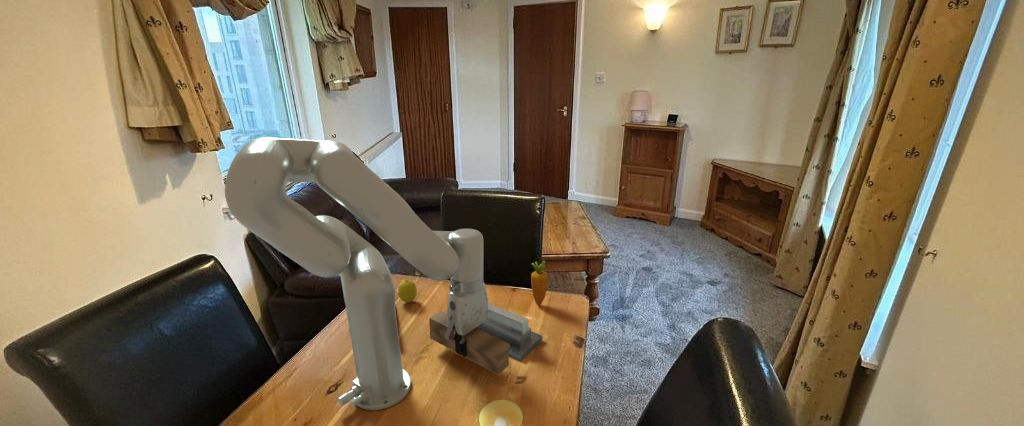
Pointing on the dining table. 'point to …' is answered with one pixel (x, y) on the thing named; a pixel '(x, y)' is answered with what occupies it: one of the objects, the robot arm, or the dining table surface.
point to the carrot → (539, 283)
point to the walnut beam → (473, 344)
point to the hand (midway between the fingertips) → (467, 348)
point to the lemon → (407, 291)
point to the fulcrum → (511, 331)
